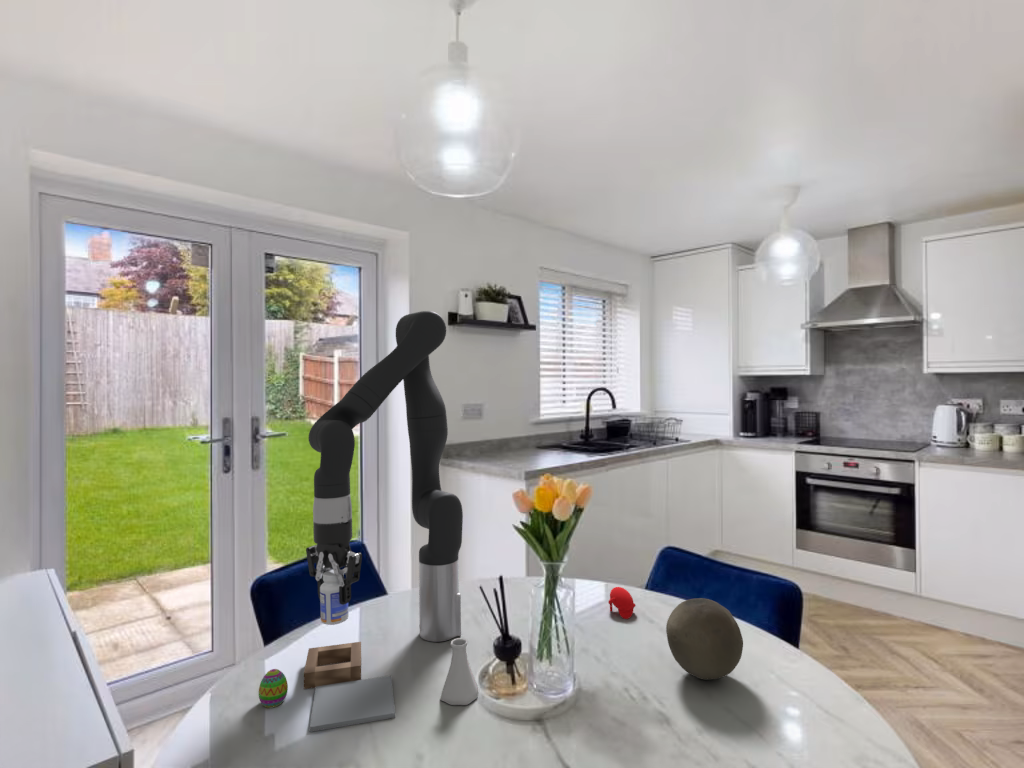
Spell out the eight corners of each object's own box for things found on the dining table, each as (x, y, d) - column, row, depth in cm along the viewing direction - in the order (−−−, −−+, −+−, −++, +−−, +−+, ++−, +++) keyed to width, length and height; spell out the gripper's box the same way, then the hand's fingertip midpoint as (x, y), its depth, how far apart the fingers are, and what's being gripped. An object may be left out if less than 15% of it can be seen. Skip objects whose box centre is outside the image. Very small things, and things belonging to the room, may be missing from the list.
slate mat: (391, 679, 107) (391, 675, 107) (395, 717, 94) (395, 712, 94) (315, 690, 103) (315, 686, 103) (309, 731, 90) (309, 727, 90)
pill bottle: (352, 614, 113) (351, 567, 113) (342, 626, 107) (341, 577, 107) (327, 614, 113) (326, 567, 113) (315, 625, 108) (314, 576, 108)
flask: (485, 688, 103) (484, 636, 103) (469, 710, 96) (469, 653, 96) (450, 682, 105) (450, 631, 106) (433, 703, 99) (432, 647, 99)
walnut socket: (361, 655, 117) (361, 641, 117) (361, 680, 106) (361, 665, 106) (308, 662, 114) (308, 648, 114) (303, 689, 103) (303, 673, 104)
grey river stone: (669, 656, 115) (668, 585, 115) (741, 666, 110) (740, 592, 110) (664, 691, 101) (663, 610, 102) (746, 704, 97) (745, 620, 97)
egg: (255, 712, 96) (255, 678, 96) (262, 696, 101) (262, 664, 101) (284, 708, 97) (284, 675, 97) (290, 693, 102) (290, 661, 102)
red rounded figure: (601, 595, 141) (605, 590, 136) (621, 585, 142) (625, 580, 137) (616, 625, 137) (621, 621, 132) (637, 615, 139) (642, 611, 133)
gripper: (293, 518, 111) (295, 600, 111) (344, 525, 104) (345, 614, 104) (322, 510, 117) (324, 588, 117) (372, 517, 110) (373, 600, 110)
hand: (334, 600), depth 110 cm, fingers closed on pill bottle, 5 cm apart
